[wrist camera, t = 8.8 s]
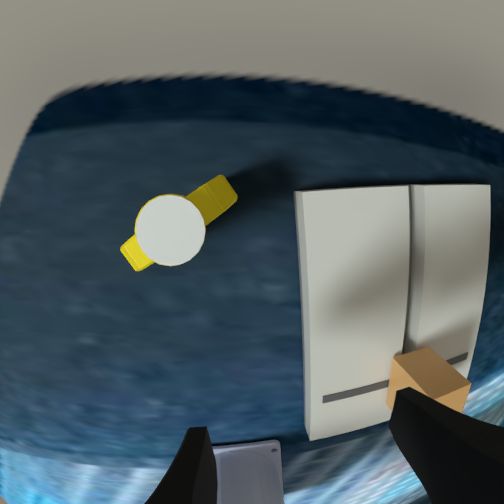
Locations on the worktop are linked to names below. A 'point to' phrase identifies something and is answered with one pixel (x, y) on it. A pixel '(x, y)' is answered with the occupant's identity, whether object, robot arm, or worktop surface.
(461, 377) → the fader tab
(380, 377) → the fader console
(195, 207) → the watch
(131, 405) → the worktop surface
